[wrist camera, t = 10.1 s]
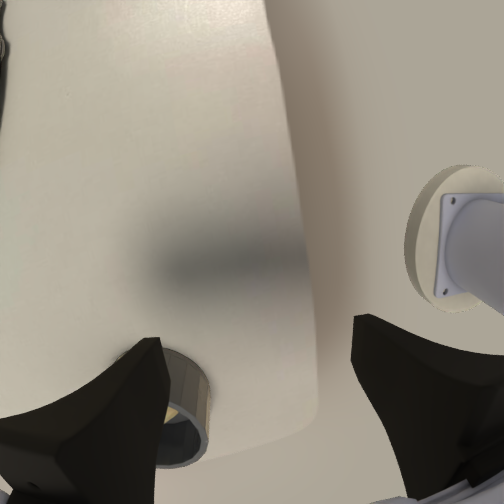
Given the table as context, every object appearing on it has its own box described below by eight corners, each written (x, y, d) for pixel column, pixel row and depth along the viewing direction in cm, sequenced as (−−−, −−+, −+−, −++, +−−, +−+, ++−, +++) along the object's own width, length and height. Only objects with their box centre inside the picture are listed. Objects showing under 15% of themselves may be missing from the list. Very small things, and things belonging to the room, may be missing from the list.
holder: (201, 343, 23) (195, 391, 17) (217, 420, 25) (216, 468, 20) (98, 347, 22) (73, 389, 17) (128, 421, 25) (114, 465, 19)
